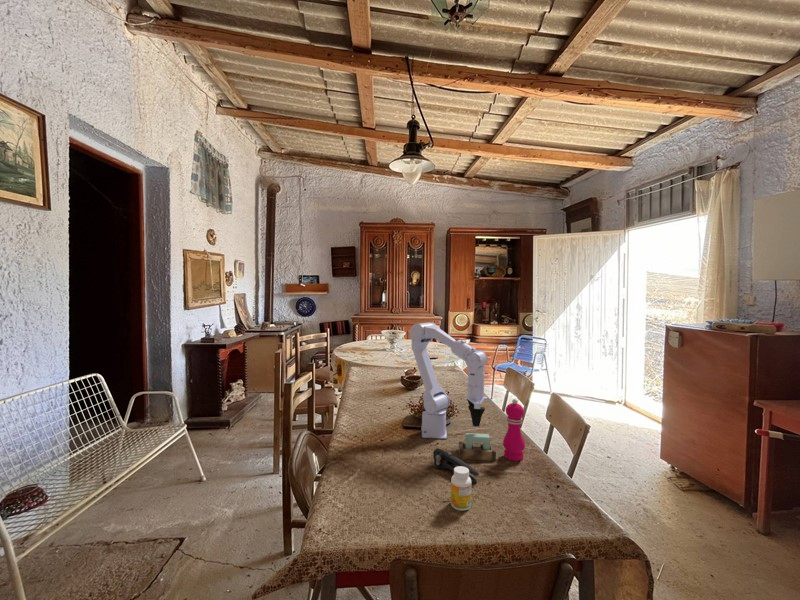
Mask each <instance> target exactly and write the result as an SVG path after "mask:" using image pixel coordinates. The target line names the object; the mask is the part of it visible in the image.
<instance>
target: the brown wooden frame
mask: <svg viewBox="0 0 800 600" xmlns="http://www.w3.org/2000/svg"><path fill="white" fill-rule="evenodd" d="M458 456H459V457H458V458H459V459H460V460H473V461H475V460H476V461H477V460H478V461H491V462H492V461H497V451H496V447H495V445H494V443H490V450H483V443H472V449H465V441H464V442H463V441H459V442H458Z"/></svg>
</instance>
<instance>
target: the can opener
mask: <svg viewBox="0 0 800 600" xmlns="http://www.w3.org/2000/svg"><path fill="white" fill-rule="evenodd" d="M432 454H433V456H432V457H433V461H434V466H435V467H437V468H439V469H449V470H451V471H452V472H454V468H455V467H458V466H463V467H466V468H468V469H469V477H470V478H471V483H472V484H475V485H476V484H477V483H478V481H477V478H475V477H478V476H479V475H480V474H479V472H478V470H476V469H475V468H473V467H472V466H470V464H468V463H466V462H465V461H463V459H460V458H459V457H456V456H455V455H454V454H452V452H447V451H445V450H443V449H441V448H439V447H438V448H435V449H434V450H433V452H432ZM472 475H473V476H475V477H473V476H472Z"/></svg>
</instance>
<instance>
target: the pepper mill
mask: <svg viewBox="0 0 800 600" xmlns="http://www.w3.org/2000/svg"><path fill="white" fill-rule="evenodd" d="M518 402H519V401H518V400H517V399H516V398H515V399H512V402H511V403H509V404H507V405H506V406H505V414H506V422H507V424H508V427H507V431H506V434H505V436H504V438H503V441H502V445H503V447H504V451H503V452H504V454H503V455H504V457H505V459H507V460H510V461H513V462H518V461H519V460H520V461H522V460H523V459H524V452H523V451H525V448H526V442H525V438H524V437H523V434H522V431H521V425H522V424H523V416H524V415H525V409H524V407H523V406H522V404H519V403H518ZM520 461H519V462H520Z"/></svg>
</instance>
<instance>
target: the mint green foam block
mask: <svg viewBox="0 0 800 600" xmlns="http://www.w3.org/2000/svg"><path fill="white" fill-rule="evenodd" d="M464 437H465V438H464V439H465V440H464V442H465V449H472V443H483V450H490V444H491V437H490V434H489V433H477V432H475V433H471V432H465V436H464Z"/></svg>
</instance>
